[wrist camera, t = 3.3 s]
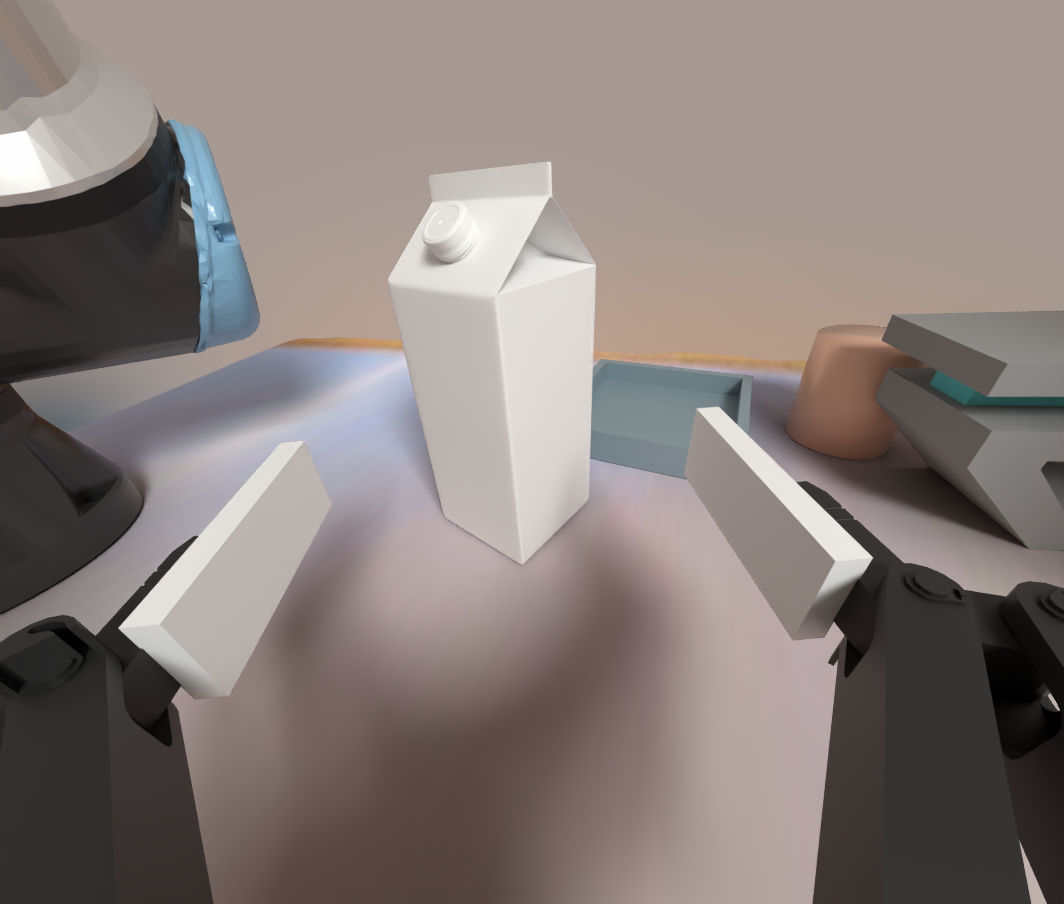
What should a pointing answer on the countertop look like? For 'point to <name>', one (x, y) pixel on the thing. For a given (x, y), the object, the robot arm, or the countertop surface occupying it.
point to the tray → (658, 411)
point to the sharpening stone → (987, 411)
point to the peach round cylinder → (846, 393)
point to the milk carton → (501, 353)
